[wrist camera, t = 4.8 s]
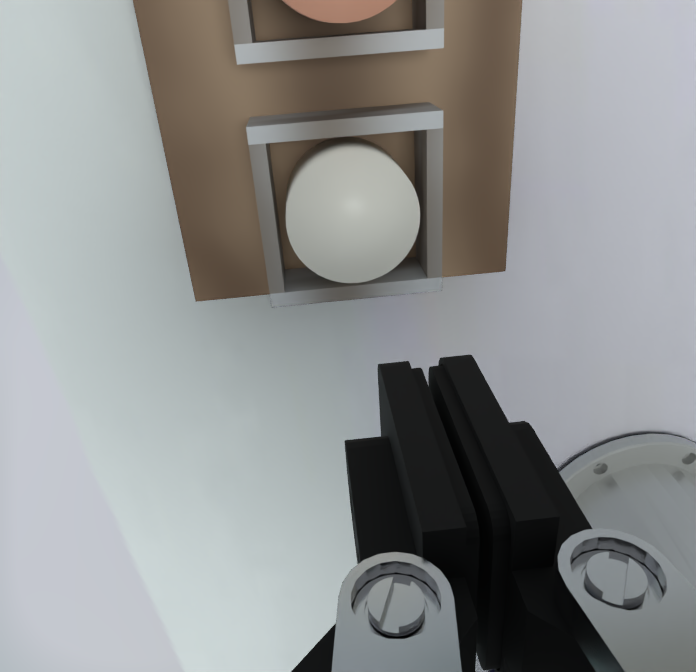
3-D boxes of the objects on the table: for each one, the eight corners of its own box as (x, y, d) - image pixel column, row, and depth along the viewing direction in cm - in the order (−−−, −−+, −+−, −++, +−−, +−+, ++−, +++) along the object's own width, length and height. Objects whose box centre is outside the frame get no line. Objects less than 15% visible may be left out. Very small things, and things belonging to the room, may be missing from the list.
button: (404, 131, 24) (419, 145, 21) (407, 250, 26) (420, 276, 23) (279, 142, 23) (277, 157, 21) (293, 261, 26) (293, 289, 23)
